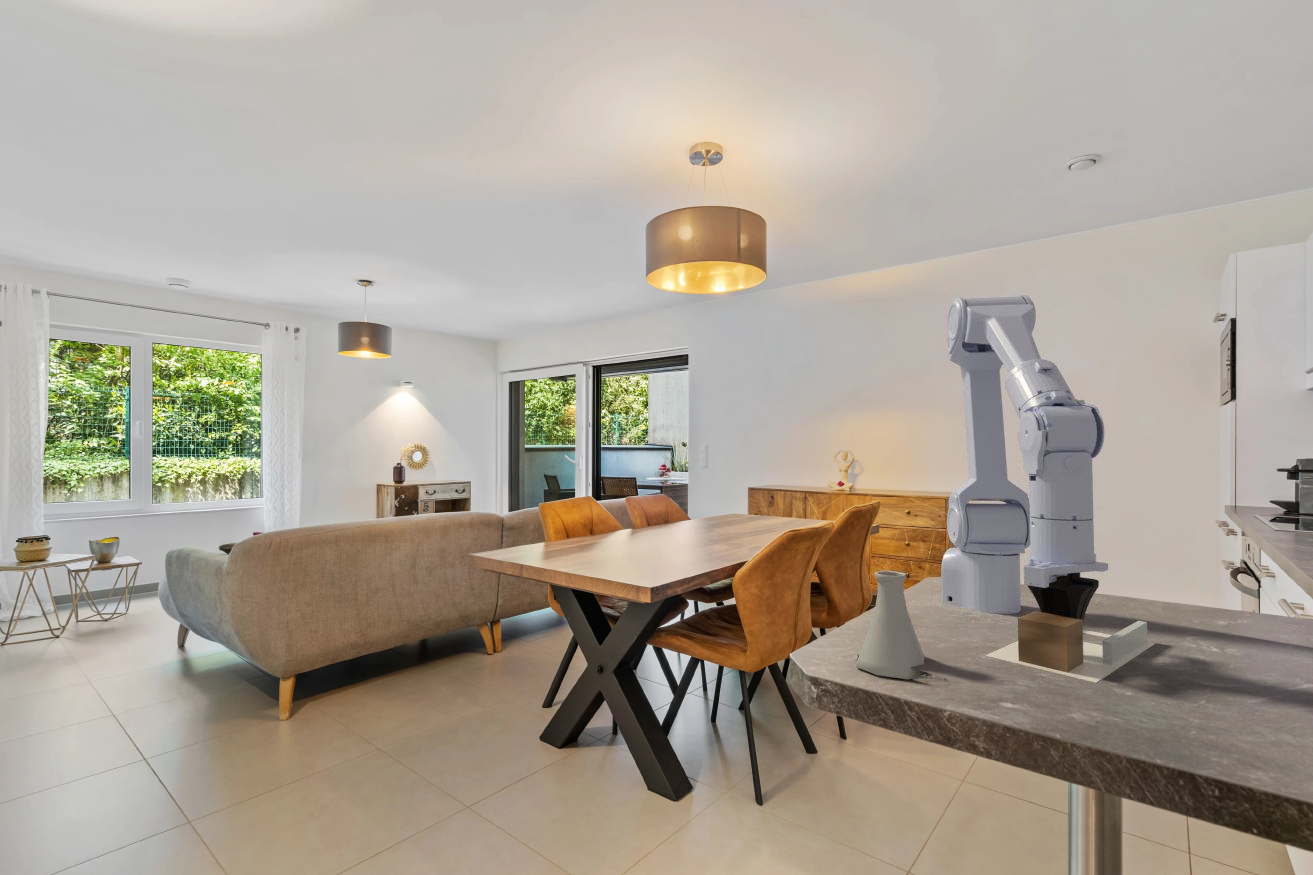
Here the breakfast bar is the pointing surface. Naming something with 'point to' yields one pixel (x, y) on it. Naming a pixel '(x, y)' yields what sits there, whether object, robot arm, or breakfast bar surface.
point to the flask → (891, 633)
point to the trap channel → (1095, 653)
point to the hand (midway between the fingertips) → (1063, 646)
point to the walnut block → (1050, 641)
